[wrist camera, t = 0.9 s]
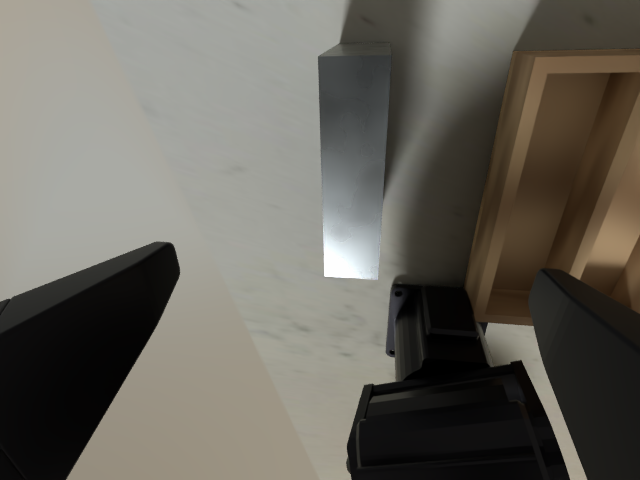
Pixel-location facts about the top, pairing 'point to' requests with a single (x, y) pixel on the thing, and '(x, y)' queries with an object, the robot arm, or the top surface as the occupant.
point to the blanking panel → (353, 155)
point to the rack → (561, 182)
